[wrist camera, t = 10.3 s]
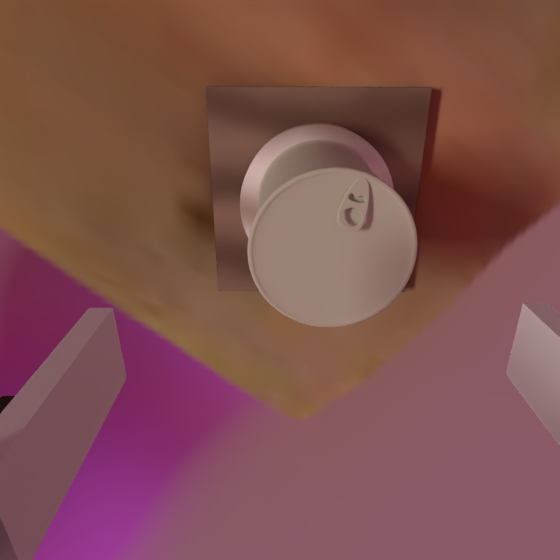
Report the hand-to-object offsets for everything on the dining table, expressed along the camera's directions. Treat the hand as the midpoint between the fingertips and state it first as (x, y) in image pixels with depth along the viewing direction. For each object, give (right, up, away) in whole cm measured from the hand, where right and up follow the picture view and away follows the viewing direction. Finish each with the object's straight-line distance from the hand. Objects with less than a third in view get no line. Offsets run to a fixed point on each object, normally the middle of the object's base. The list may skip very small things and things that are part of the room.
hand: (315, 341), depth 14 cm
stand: (+2, +9, +23) cm, 25 cm away
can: (+2, +8, +20) cm, 21 cm away
